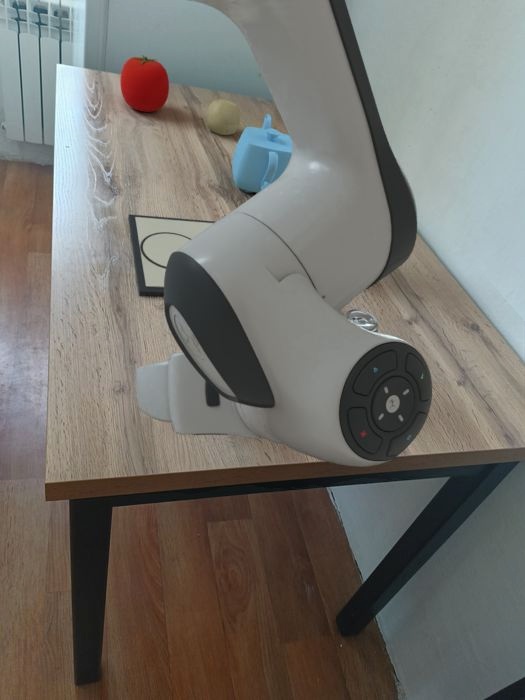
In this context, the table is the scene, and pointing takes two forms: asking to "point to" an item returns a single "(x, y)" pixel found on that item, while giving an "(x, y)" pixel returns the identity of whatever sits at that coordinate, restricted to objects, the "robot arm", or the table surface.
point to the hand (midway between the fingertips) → (221, 376)
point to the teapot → (260, 157)
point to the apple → (223, 117)
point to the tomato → (144, 84)
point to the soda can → (362, 319)
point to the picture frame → (158, 247)
